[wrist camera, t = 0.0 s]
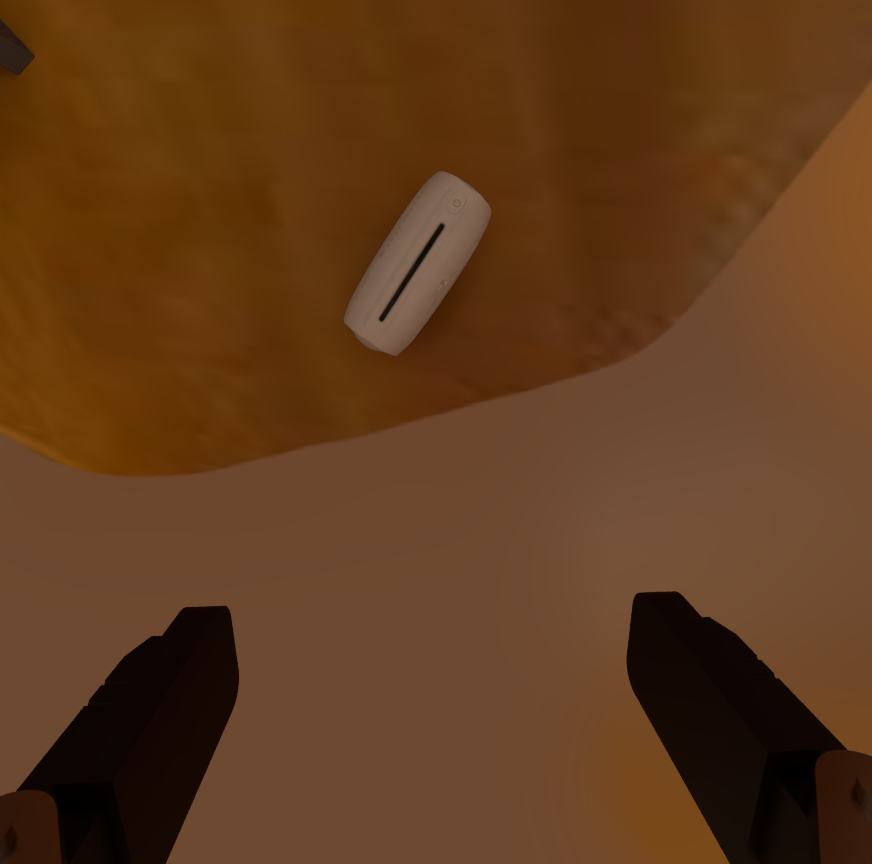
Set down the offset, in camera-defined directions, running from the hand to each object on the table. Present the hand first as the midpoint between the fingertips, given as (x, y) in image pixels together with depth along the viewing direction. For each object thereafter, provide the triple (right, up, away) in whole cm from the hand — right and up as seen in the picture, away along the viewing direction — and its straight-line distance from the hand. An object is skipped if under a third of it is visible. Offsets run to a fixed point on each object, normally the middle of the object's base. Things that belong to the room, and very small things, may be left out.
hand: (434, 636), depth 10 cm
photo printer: (-2, +16, +26) cm, 31 cm away
